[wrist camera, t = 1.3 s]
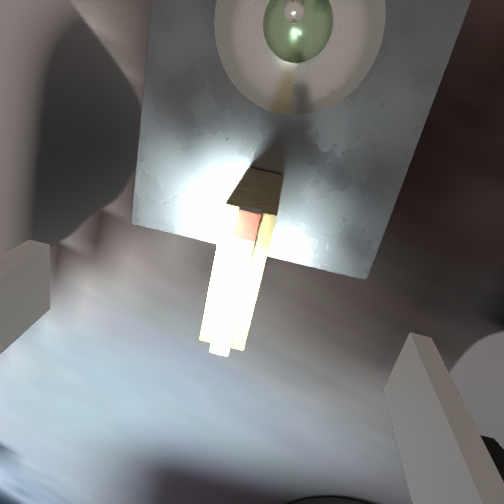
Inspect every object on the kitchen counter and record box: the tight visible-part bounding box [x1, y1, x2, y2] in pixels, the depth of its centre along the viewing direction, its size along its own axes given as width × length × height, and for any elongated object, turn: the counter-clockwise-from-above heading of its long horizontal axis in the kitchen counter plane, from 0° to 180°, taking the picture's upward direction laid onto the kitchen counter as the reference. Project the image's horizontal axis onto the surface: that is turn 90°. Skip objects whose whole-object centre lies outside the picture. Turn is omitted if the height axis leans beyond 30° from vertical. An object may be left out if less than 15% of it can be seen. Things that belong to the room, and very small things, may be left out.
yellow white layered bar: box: [199, 167, 284, 357], centre depth 21 cm, size 7×2×9 cm, turn 168°
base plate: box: [132, 0, 471, 280], centre depth 20 cm, size 26×16×4 cm, turn 168°
